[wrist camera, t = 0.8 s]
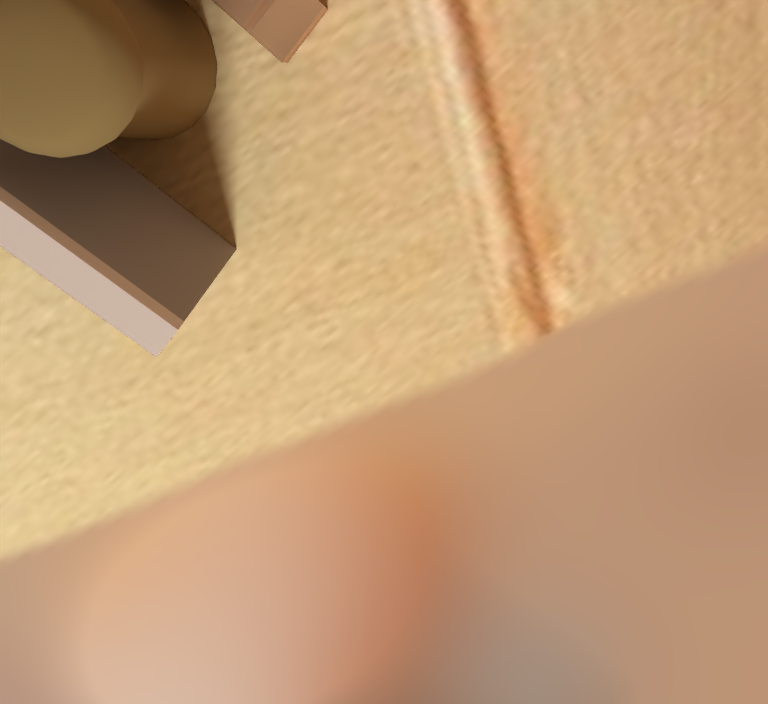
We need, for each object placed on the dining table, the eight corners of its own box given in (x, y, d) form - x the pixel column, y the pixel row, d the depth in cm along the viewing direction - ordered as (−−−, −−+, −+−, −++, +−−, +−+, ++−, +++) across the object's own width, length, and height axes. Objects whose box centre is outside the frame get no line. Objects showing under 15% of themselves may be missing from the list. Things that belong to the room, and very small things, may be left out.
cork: (199, 158, 31) (114, 207, 21) (57, 113, 31) (-102, 140, 20) (232, 11, 29) (157, -14, 19) (81, -42, 28) (-83, -98, 18)
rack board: (-83, 33, 29) (-319, 20, 19) (-68, 8, 29) (-301, -19, 19) (222, 266, 33) (156, 357, 23) (238, 246, 33) (177, 329, 23)
